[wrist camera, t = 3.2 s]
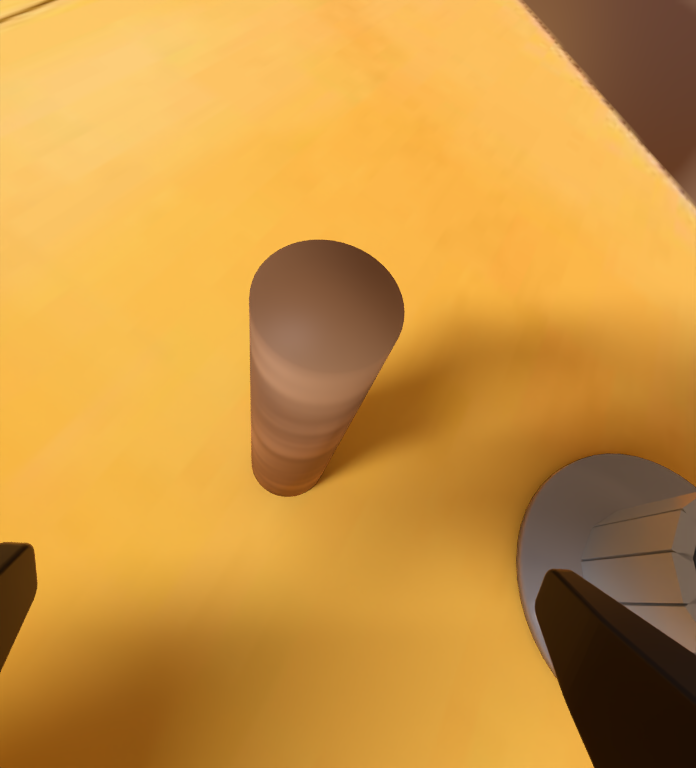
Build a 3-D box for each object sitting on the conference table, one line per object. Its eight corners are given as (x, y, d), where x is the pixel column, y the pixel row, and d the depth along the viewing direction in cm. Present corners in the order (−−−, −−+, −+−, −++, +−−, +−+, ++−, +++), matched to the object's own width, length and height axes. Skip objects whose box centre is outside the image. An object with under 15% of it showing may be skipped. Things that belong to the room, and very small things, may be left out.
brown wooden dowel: (336, 477, 21) (432, 339, 10) (269, 509, 20) (290, 396, 9) (305, 415, 22) (359, 224, 11) (239, 443, 21) (224, 262, 10)
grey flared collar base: (808, 645, 22) (975, 659, 17) (635, 819, 18) (787, 908, 13) (642, 421, 25) (739, 377, 20) (466, 523, 21) (532, 501, 16)
